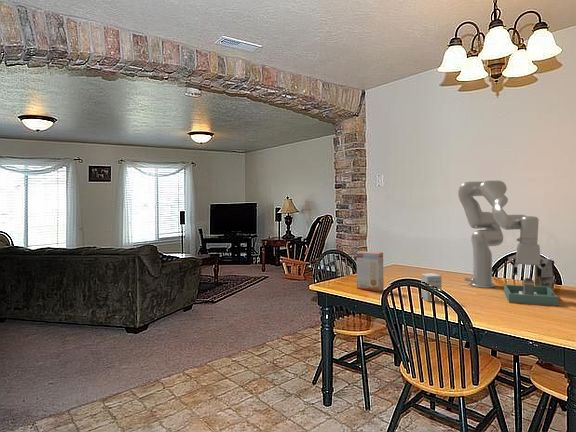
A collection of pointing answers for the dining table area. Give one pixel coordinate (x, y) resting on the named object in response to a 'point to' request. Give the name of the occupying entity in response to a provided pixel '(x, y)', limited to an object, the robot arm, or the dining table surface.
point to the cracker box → (370, 271)
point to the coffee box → (545, 275)
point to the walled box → (540, 295)
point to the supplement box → (433, 281)
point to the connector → (528, 286)
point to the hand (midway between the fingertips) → (526, 275)
